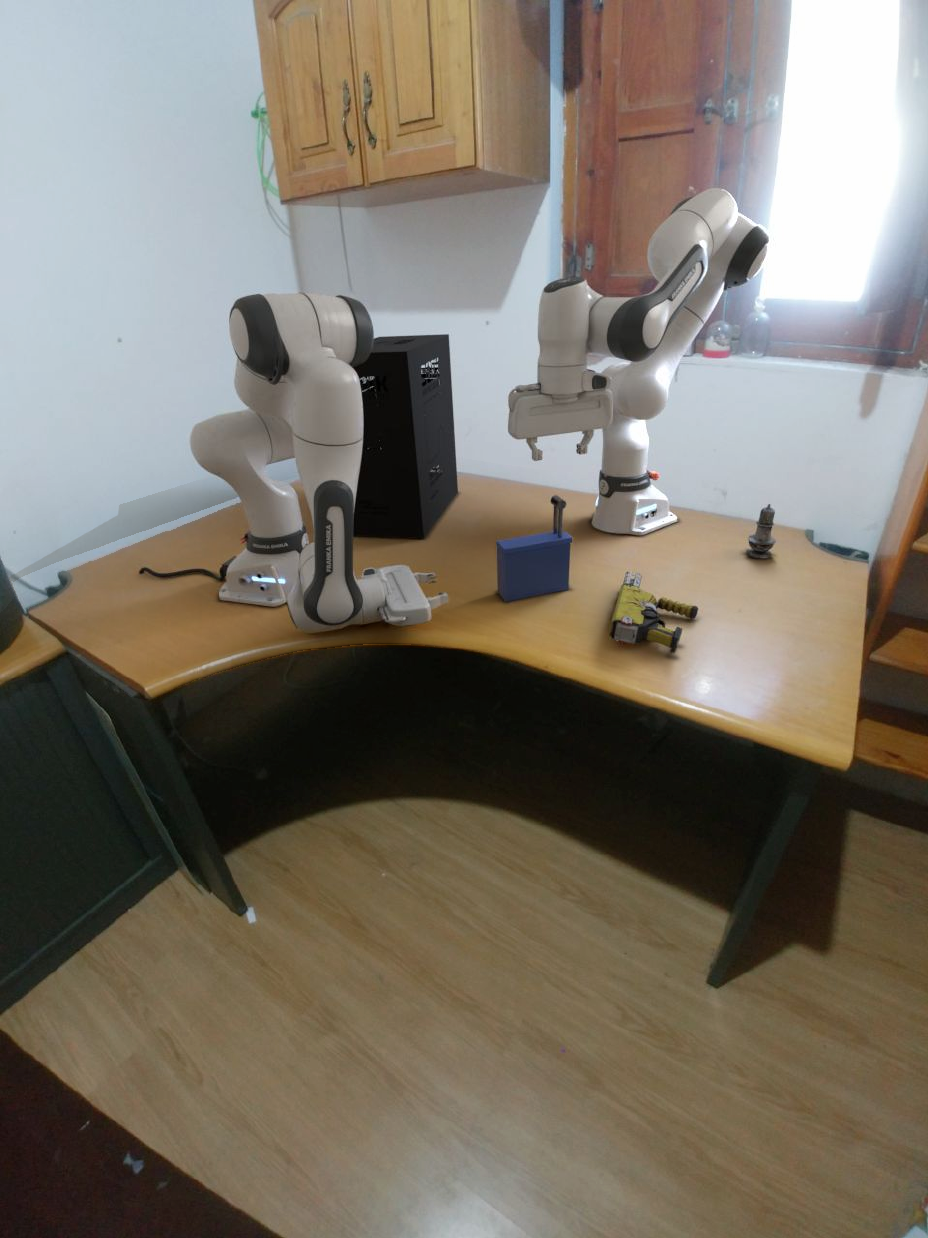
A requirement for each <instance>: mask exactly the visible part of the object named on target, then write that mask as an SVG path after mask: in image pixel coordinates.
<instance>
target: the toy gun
mask: <svg viewBox="0 0 928 1238" xmlns="http://www.w3.org/2000/svg"><path fill="white" fill-rule="evenodd" d="M632 577H634V578H632ZM642 578H643V576H642V574H641V573H640V572H636V573H635V574H633V571H630V570H629V571H626V572H625V576H624V579H623V583H622V584H621V586H620V589H619V592H618V597H617V599H616V603H615V608H614V611H613V615H612V617H611V621H610V625H609V626H610V627H609V632H608V637H609V638H610V640H614V641H617V644H619V645H621V644H623V646H624V645H625V646H627V645H628V644H631V645H638V644H642V643H644V642H646V641H650V642H653V643H656V644H660V645H663V646H665V647H667V648H669V649H670V653H673V654H675V652H676V651H677V648H678V646H679V644H680V640H681V637H682V633H683V628H682V627H680V626H675V630H672V629H670V628H667V627H666V622H665V621H664V620H662V619H660V617H661V615H660V613H659V612H658V609H659V610H662V611H663V610H665V611H666V612H672V613H673V614H678V615H680V616H685V617H686V618H689V619H691V620H693V619H696V617H697V615H698V612H699V607H698V606H696V605H692V604H687V603H685V602H680V601H678V600H676V601H674V600H673V599H667V597H660V598H659V599H658V600H657V598H656V596H655V595H654V594H653V593H651V592H647V591H644V590H642V589H640V586H641V581H642Z"/></svg>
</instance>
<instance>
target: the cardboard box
mask: <svg viewBox="0 0 928 1238" xmlns="http://www.w3.org/2000/svg"><path fill="white" fill-rule="evenodd" d="M450 349H451V347H450V334H449V333H445V334H417V335H416V334H415V335H392V336H391V335H390V336H389V335H388V336H378V337H377V336H376V337H374V342H373V347H372V350H371V353H370V355H369V357H368V359H367V360H366V361H365V362H364V363H362V364H360V365H357V366H355V367H352V368H353V369H354V370H355V371H356V373H357V375H358V377H359V380H360V386H361V393H362V402H363V420H364V428H363V447H362V457H361V465H360V471H359V478H358V485H357V493H356V501H355V508H354V521H353V537H373V538H374V537H375V538H378V537H379V538H398V539H401V538H402V539H418V540H419V539H421V540H422V539H423V540H424V539H425V538H426V537H427V536H428V534H429V533H430V531H431V530H432V528H433V527H434V526H435V525H436V523H437V522H438V521H439V519H440V518H441V517H442V515H443V513H444V512H445V511H446V509H447V508H448V507H449V505H450V504H451V503H452V501H453V500H454V499H455V497H456V496H457V494H458V493H459V486H458V484H459V483H458V469H457V468H458V467H457V453H456V433H455V419H454V401H453V400H454V399H453V384H452V381H453V380H452V367H451V350H450ZM433 361H434V362H433ZM429 363H430V364H429ZM422 366H424V367H422Z"/></svg>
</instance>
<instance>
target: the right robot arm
mask: <svg viewBox="0 0 928 1238" xmlns="http://www.w3.org/2000/svg"><path fill="white" fill-rule="evenodd" d="M772 246H773V236H772V234H771V233H770V232H769V231H768V230H767V229H766V228H765V227H764V226H763V225H761V224H756V223H755V222H753V221H752V220H751V219H749V218H747V217H746V216H745V215H743V214H741V213H739V212H738V206H737V203H736V201H735V199H734V197H733V196H732V194H731V193H730V192H729V191H727V190H725V189H723V188H720V187H712V188H708V189H706V190H703V191H701V192H699V193H698V194H695V196H689V197H687V198H685V199H683V200H681V201H679V203H677V204H676V205H675V207H674V208H673V209H672V211H671V212H670V214H669V216H668V217H667V218H666V219H665V220H664V221H663V222H661V224H660V225H659V226H658V227H657V228H656V229H655V231H654V232H653V234H652V235H651V237H650V239H649V241H648V244H647V252H646V257H647V264H648V268H649V270H650V272H651V274H652V275H653V277H654V278H655V280H656V281H657V282H658V284H656V285H655V287H654V289H653V290H652V291H651V292H648V293H646V294H642V295H637V296H617V297H616V296H604V295H602V294H600V293H598V292H597V291H595V290H593V288H591V287H590V285H588V280H587V279H586V278H584V277H582V276H571V277H566V278H565V277H564V278H560V279H556V280H553V281H551V282H549V283H548V284H546V285H545V286H544V288H542V292H541V295H540V299H539V304H538V314H537V341H538V345H539V355H538V357H537V366H536V367H537V369H536V370H537V371H536V372H537V374H536V377H537V378H536V379H537V383H535V382H534V383H530V384H525V385H523V384H520V385H519V384H518V385H516V386H515V388H513V389H511V390H510V392H509V393H508V396H507V401H508V403H507V405H508V409H509V410H508V420H507V433H508V434H509V436H511V437H512V438H513V439H515V440H518V441H519V440H525V442H526V444H527V445H528V447H529V449H530V451H531V460H532V461H534V462H538V461H542V460H543V451H542V450H541V449H539V448H538V447H537V446H536V444H537V443H538V438H542V437H548V436H549V437H550V436H556V435H557V436H558V435H564V434H571V433H578V432H579V433H580V432H581V434H582V435H583V437H582V438H581V440H580V442H579V443H576V454H578V455H586V454H588V448H589V447H588V446H589V444H590V443H591V441H592V439H593V438H594V435H595V431H596V430H601V431H602V432H601V433H602V453H601V468H600V470H599V474H598V492H599V493H598V495H597V498H596V501H595V506H596V507H595V511H594V514H593V517H592V520H591V525H592V526H593V527H594V528H595V529H597V530H599V531H601V532H605V533H611V534H623V535H625V534H626V535H632V536H633V535H634V536H645V535H646V534H650V533H652V532H654V531H657V530H660V529H662V528H665V527H668V526H670V525H672V524H675V523H677V522H678V516H677V515H676V514H675V513H674V512H672V511H670V503H669V502H670V501H669V498H668V497H667V496H666V495H665V494H664V493H663V492H661V491H660V490H659V489H658V488H656V487H655V486H654V485H652V483H651V480H653V481H658V479H659V478H660V473H659V472H657V471H654V470H651V471H649V470H648V469H647V466H648V458H649V457H648V456H649V446H650V438H649V434H648V431H647V430H648V429H647V426H646V421H648V420H652V419H654V418H656V417H658V416H659V415H660V414H661V413H662V412H663V411H664V409H665V408H666V406H667V403H668V400H669V389H670V385H671V383H672V380H673V378H674V375H675V373H676V371H677V369H678V366H679V364H680V362H681V360H682V359H683V357H684V355H685V353H686V352H687V351H688V349H689V348H690V346H691V345H692V343H693V342H694V340H695V338H696V337H697V336H698V335H699V333H700V332H701V330H702V329H703V327H704V325H705V324H706V322H707V321H708V319H710V317H711V315H712V313H713V311H714V309H715V308H716V306H717V304H718V303H719V300H720V298H721V296H722V294H723V293H724V291H725V292H727V291H729V290H732V288H733V287H740V286H743V285H744V284H746V283H748V282H750V281H751V280H753V278H755V276H756V275H757V274H758V273H759V272H760V271H761V270H762V268H763V267H764V266H765V264H766V262H767V260H768V257H769V255H770V252H771V249H772ZM587 356H597V357H605V358H613V359H614V358H615V359H619V360H623V361H628V362H617V363H614V364H611V365H608V366H607V367H605V368H604V369H603V370H602V371H601V372H596V370H593V369H589V368H588V357H587Z"/></svg>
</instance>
